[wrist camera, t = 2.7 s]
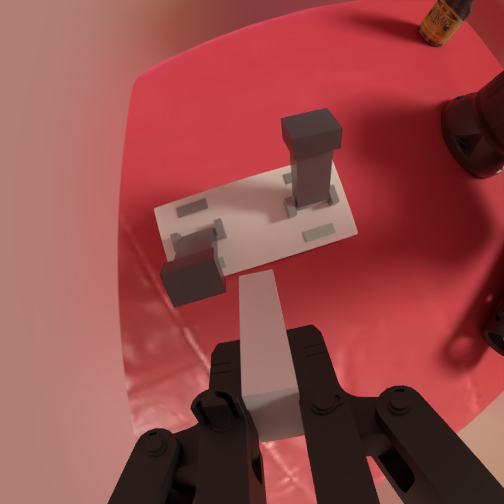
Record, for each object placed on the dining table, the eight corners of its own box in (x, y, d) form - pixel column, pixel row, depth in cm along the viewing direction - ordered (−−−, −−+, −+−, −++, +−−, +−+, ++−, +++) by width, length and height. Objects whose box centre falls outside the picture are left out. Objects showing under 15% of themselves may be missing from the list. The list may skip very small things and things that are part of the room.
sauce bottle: (411, 28, 43) (449, -35, 23) (428, 25, 43) (467, -32, 23) (432, 51, 42) (478, -9, 22) (449, 47, 42) (493, -8, 23)
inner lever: (333, 202, 33) (342, 128, 23) (296, 213, 33) (292, 139, 23) (323, 182, 34) (327, 108, 25) (287, 192, 34) (280, 118, 25)
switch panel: (344, 238, 41) (364, 231, 33) (187, 287, 41) (171, 291, 33) (320, 169, 41) (334, 149, 33) (167, 216, 41) (148, 205, 33)
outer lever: (222, 245, 34) (226, 292, 24) (185, 257, 34) (174, 307, 24) (214, 220, 33) (213, 258, 23) (175, 233, 33) (159, 275, 23)
